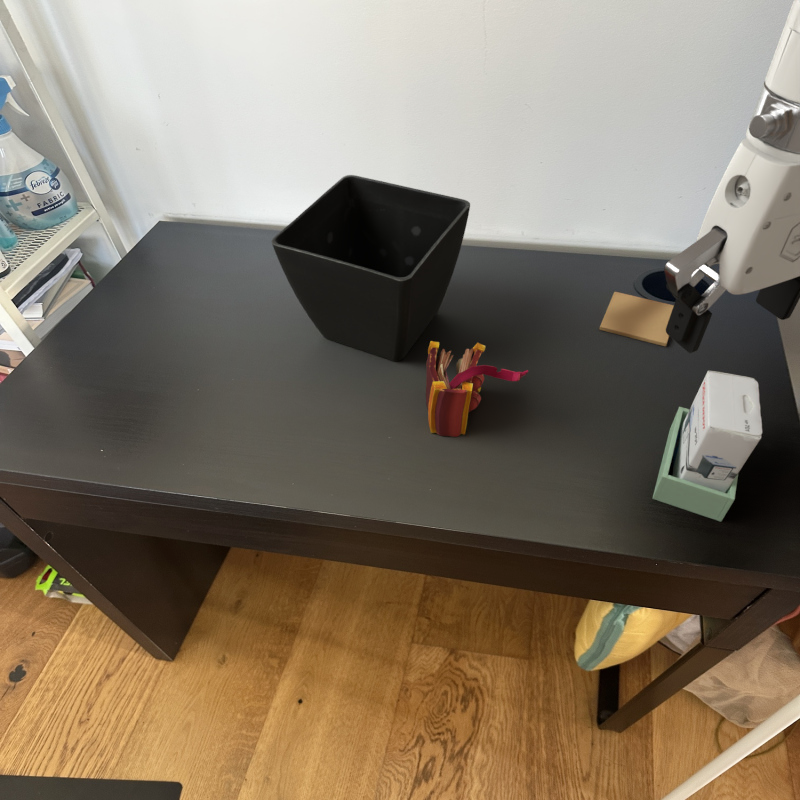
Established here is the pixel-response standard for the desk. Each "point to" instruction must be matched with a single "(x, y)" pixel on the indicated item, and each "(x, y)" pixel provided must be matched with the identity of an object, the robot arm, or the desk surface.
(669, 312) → the coaster board
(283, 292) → the desk surface
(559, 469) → the desk surface
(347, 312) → the flower pot
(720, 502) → the sleeve
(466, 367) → the book monster
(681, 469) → the ink box
